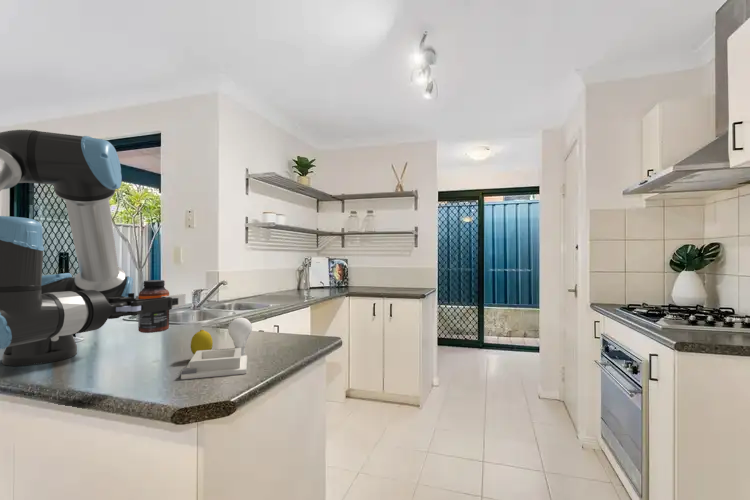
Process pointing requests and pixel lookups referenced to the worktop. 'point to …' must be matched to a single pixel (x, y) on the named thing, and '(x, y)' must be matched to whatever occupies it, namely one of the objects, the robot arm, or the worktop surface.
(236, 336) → the lightbulb
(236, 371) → the socket
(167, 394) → the worktop surface
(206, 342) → the lemon
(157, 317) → the supplement bottle
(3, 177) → the robot arm
